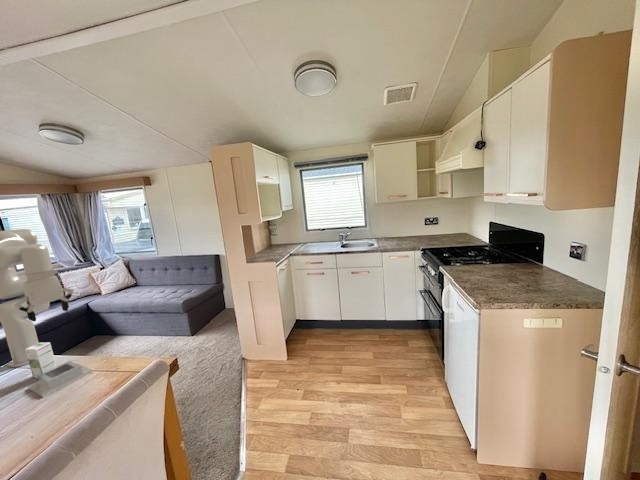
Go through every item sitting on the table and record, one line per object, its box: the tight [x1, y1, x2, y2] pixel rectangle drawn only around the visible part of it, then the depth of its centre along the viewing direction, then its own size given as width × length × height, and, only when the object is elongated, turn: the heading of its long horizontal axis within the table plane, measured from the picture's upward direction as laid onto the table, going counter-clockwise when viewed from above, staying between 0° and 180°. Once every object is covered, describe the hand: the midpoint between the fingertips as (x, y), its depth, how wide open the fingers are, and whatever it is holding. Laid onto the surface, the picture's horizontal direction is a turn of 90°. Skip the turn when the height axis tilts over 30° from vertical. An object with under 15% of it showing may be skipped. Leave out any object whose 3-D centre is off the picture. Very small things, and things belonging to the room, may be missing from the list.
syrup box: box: [25, 342, 57, 379], centre depth 114 cm, size 6×6×14 cm
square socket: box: [27, 360, 93, 398], centre depth 110 cm, size 14×16×4 cm
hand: (50, 315), depth 105 cm, fingers open, 9 cm apart
